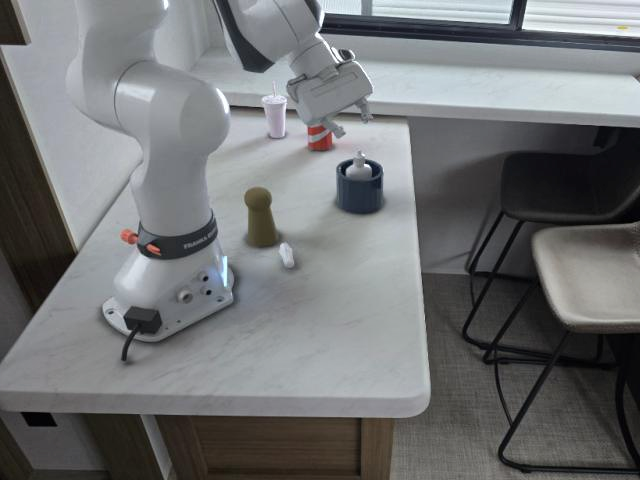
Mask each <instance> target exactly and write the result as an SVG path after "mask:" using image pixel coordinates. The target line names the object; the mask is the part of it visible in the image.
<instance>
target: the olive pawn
mask: <svg viewBox="0 0 640 480" xmlns="http://www.w3.org/2000/svg"><path fill="white" fill-rule="evenodd" d="M272 197H273V196H272V193H271V191H269V190H268V188H266V187H262V186H254V187H251V188H249V189H247V190H246V191H245V193H244V195H243V201H244V204H245V207H247V209H248V210H247V213H248V214H247V242H248V243H249V244H250V245H252V246H253V247H257V248H268V247H271V246H273V245H275V244H276V243H277V242H278V240H279V234H278V231H277V226H276V222H275V219H274V216H273V211H272V208H271V206H272V203H273V202H272V201H273V198H272Z"/></svg>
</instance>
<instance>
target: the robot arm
mask: <svg viewBox="0 0 640 480" xmlns="http://www.w3.org/2000/svg"><path fill="white" fill-rule="evenodd" d="M211 2H212V5H213V8H214V10H215V13H216V15H217V18H218V21H219V23H220V27H221V30H222V34H223V37H224V41H225V44H226V47H227V50H228V52H229V54H230V55H231V57H232V59H233V61H234V62H235V63H236V64H237V65H238V66H239V67H240V68H241V70H243V71H245V72H249V73H253V74H265V72H267V71H268V70H269V69H270V68H272V67H273V66H274V65H275V64H276V63H277V62H278V61H279V60H282V59H283V58H285V59H286V61H287V64H288V66H289V69H290V70H291V71H292V73H293V75H294V76H295V77H294V78H290V79H288V80H287V83H286V86H285V91H286V94H287V95H288V96H289V98H290V101H291V102H292V105H293V107H294V109H295V111H296V113H297V115H298V116H299V118H300V120H301V122H302V123H303V124H304V125H306V127H307V126H309V127H311V126H313V125H315V124H317V123H319V122H321V124H322V125H323V127H325V128H326V129H328V130H329V131H331V132H332V135H333V136H334V137H335V138H336V140H340V138H342V137H344V136H345V135H346V134H347V132H346V130H345V129H344V127H343V125H338V124H337V123H335V122H334V121H333V120H334V118H333V116H335V115H337V114H339V113H341V112H344V111H346V110H347V109H349V108H351V107H353V106H356V107H357V109H360V114H361V116H360V117H359V118H360V119H361V121H362V123H363V124H365V125H366V124H368V123H370V122H371V121H373V120H374V116H373V115H372V113H371V112H370V106H369V101H368V100H367V99H368V98H369V97H370V96H372V94H374V85H373V83H372V81H371V80H370V77H369V76H368V75H367V73H366V72H365V70H364V69H363V67H362V66H361V64H359V63H358V62H357V61H356V60H355V58H356V56H355V54H354V53H353V51H352V50H351V49H348V48H338V47H333V46H329V44H328V42H327V41H326V40H325V39H324V38H323V37H322V36H321V35H320V34H319V32H320V31H321V30H322V28H323V23H324V19H325V11H324V10H323V8H322V6H321V5H320V3H319V2H318V0H256V3H255V4H253V5H251V7H248V8H247V9H245V10H243V8H242V4H241V1H240V0H211ZM73 3H74V6H75V13H76V17H77V23H78V24H77V25H78V26H77V27H78V45H77V54H76V56H75V57H74V59H73V60H72V61H71V62H70V64H69V66H68V68H67V71H66V74H65V90H66V93H67V96H68V99H69V101H70V103H71V104H72V105H73V107H74V108H75V109H77V111H79V113H81V114H82V115H84V116H86V117H87V118H88V119H90V120H91V121H93V122H94V123H96V124H97V125H99V126H100V127H102V128H104V129H106V130H107V129H108V130H110V131H113V132H116V133H119V134H122V135H124V136H127V137H130V138H133V139H135V140H136V142H137V143H138V145H139V146H140V149H141V152H142V162H141V163H140V164H138V165H137V167H135V169H134V170H133V171H132V173H131V175H130V178H129V187H130V191H131V194H132V197H133V201H134V204H135V207H136V210H137V215H138V218H139V221H138V228H137V233H136V232H133V231H132V230H131V229H128V228H126V229H123V230H122V231H121V232H120V237H119V238H120V239H121V241H123V242H124V243H127V244H128V245H136V246H135V248H134V249H133V251H131V254H130V255H128V257H127V259H126V260H125V262H124V264H123V265H122V266H121V268H120V269H119V270H118V272H117V273H116V274H115V275H114V277H113V278H112V284H111V285H112V287H111V288H112V296H111V297H110V298H109V299H107V300H106V301H105V302H104V303H103V304H102V313H103V316H104V319H105V320H106V321H107V322H108V324H109V325H110V326H112V327H113V328H114V329H115V330H117V331H118V332H119V333H122V335H124V336H126V337H127V338H126V340H125V342H124V344H123V347H122V351H121V358H120V361H123V362H126V361H127V359H128V352H129V348H130V346H131V344H132V341H133V340H136V341H140V342H147V343H148V342H149V343H157V342H160V341H163V340H165V339H166V338H168V337H170V336H172V335H174V334H176V333H177V332H178V333H179V332H180V331H181V330H183V329H185V328H187V327H189V326H191V325H193V324H195V323H197V322H199V321H201V320H203V319H205V318H206V317H209V316H210V315H212V314H215V313H216V312H218V311H220V310H222V309H224V308H227V307H228V306H230V305H232V304H233V303H234V295H233V292H232V290H233V287H234V283H235V275H234V273H233V271H232V269H231V268H230V266H229V264H228V258H227V255H225V256H224V253H223V250H222V247H221V244H220V240H219V238H218V234H219V229H218V224H217V222H218V221H217V218H216V215H215V212H214V210H213V209H212V207H211V202H210V196H209V191H208V183H207V177H206V175H207V174H206V173H207V172H206V171H207V164H208V159H209V157H210V155H211V154H212V153H214V152H216V151H217V150H218V149H219V148H221V146H222V145H223V144H224V142H225V140H226V139H227V137H228V135H229V132H230V129H231V122H232V121H231V120H232V117H231V116H232V114H231V108H230V105H229V101H228V99H227V97H226V95H225V94H224V93H223V92H222V90H221V89H219V88H218V87H216V86H215V85H214V84H212V83H210V82H209V81H207V80H205V79H203V78H202V77H200V76H198V75H196V74H195V73H192V72H190V71H187V70H184V69H179V68H176V67H173V66H169V65H166V64H164V63H163V64H162V63H160V62H159V60H158V59H157V57H156V53H155V35H156V31H157V30H158V29H160V28H161V27H162V26H163V25H164V24H165V23H166V22H167V21H168V19H169V17H170V15H171V11H172V3H171V0H73ZM354 60H355V61H354Z"/></svg>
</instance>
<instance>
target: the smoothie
mask: <svg viewBox="0 0 640 480" xmlns="http://www.w3.org/2000/svg"><path fill="white" fill-rule="evenodd" d="M271 86H272V87H271V88H272V94H267V95H264V96H263V97H261V105H262V106H263V110H264V113H265V119H266V122H267V127H268V131H269V136H270V137H271V138H274V139H281V138H284V137H285V133H286V132H285V130H286V111H287V104H288V101H287V97H286V96H285V95H281V94H276V86H275V80H272V81H271Z"/></svg>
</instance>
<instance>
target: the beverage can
mask: <svg viewBox="0 0 640 480" xmlns="http://www.w3.org/2000/svg"><path fill="white" fill-rule="evenodd" d="M306 127H307V128H306V129H307V145H308V147H310V148H311V149H313V150H314V151H319V152H322V151H327V150H328V149H330V148H331V147H332V146H333V132H331V131H329V130H328V129H326V128H325V127H323V125H322V124H321V122H319V123H317V124H315V125H313V126H311V127H309V126H307V125H306Z"/></svg>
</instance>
